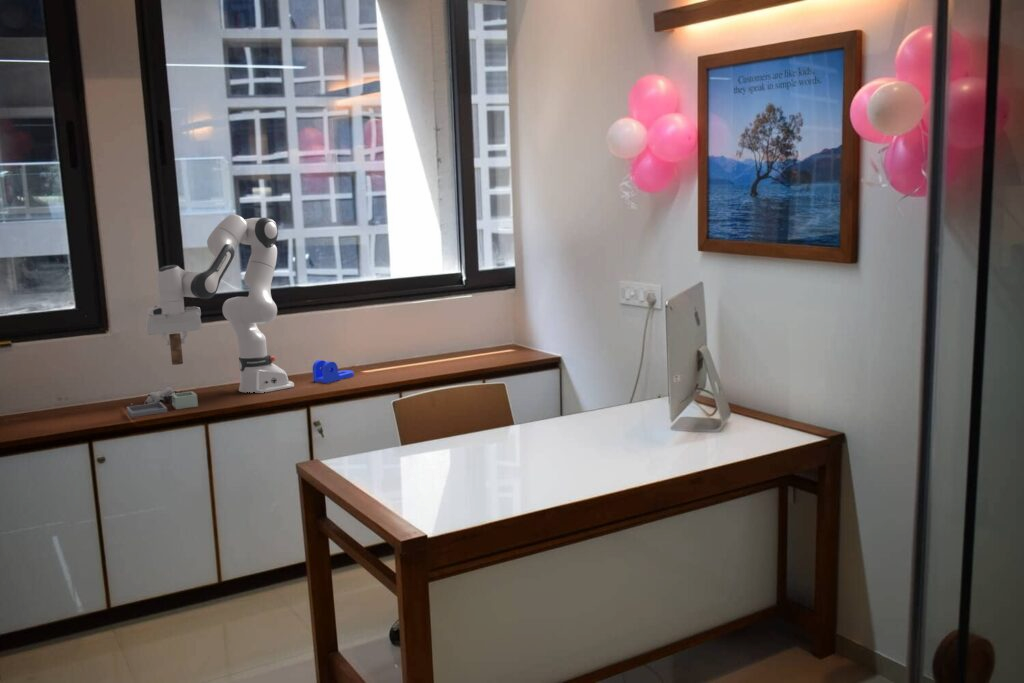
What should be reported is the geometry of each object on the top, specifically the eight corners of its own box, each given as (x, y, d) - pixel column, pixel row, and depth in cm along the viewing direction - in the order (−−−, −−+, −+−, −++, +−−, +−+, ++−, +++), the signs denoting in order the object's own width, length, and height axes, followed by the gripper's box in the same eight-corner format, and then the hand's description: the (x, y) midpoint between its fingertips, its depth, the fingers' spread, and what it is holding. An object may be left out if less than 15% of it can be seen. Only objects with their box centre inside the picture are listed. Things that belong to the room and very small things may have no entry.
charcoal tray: (161, 408, 361) (160, 402, 361) (167, 414, 350) (167, 408, 350) (127, 413, 355) (126, 407, 354) (132, 419, 344) (131, 413, 344)
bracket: (326, 383, 395) (324, 363, 394) (313, 382, 400) (311, 361, 399) (357, 376, 409) (356, 356, 408) (344, 374, 414) (343, 354, 413)
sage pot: (193, 404, 365) (192, 391, 364) (198, 408, 358) (196, 394, 357) (172, 407, 361) (171, 394, 360) (176, 411, 354) (175, 397, 353)
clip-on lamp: (146, 419, 357) (186, 400, 370) (142, 404, 355) (182, 385, 368) (130, 412, 364) (169, 394, 377) (125, 398, 362) (166, 380, 374)
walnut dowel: (181, 362, 358) (179, 332, 357) (184, 363, 355) (181, 334, 353) (171, 363, 356) (168, 334, 355) (173, 365, 353) (170, 335, 351)
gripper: (198, 304, 360) (201, 340, 362) (142, 310, 350) (146, 346, 352) (202, 306, 355) (205, 342, 357) (145, 311, 345) (149, 348, 347)
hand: (175, 344), depth 355 cm, fingers closed on walnut dowel, 4 cm apart
